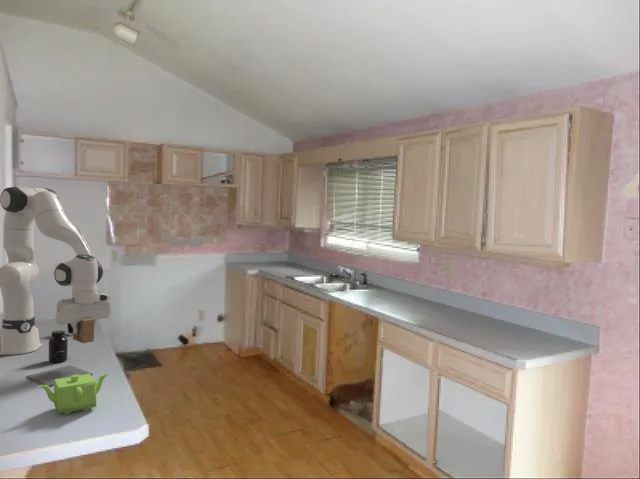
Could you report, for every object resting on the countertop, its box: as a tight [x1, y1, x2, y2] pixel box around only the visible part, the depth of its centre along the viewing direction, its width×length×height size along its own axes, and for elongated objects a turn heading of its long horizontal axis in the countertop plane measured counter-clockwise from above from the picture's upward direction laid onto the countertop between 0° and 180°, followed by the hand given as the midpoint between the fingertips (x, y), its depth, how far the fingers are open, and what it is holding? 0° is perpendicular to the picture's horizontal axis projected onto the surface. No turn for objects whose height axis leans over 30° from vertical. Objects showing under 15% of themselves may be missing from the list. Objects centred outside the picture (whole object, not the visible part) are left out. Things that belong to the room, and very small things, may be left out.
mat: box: [26, 364, 93, 388], centre depth 179 cm, size 16×16×1 cm
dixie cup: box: [66, 323, 73, 336], centre depth 239 cm, size 8×8×11 cm
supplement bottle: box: [48, 329, 69, 364], centre depth 197 cm, size 7×7×12 cm
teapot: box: [37, 373, 110, 416], centre depth 150 cm, size 15×13×11 cm
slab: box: [72, 318, 95, 344], centre depth 188 cm, size 8×4×9 cm, turn 54°
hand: (83, 332), depth 188 cm, fingers closed on slab, 4 cm apart
